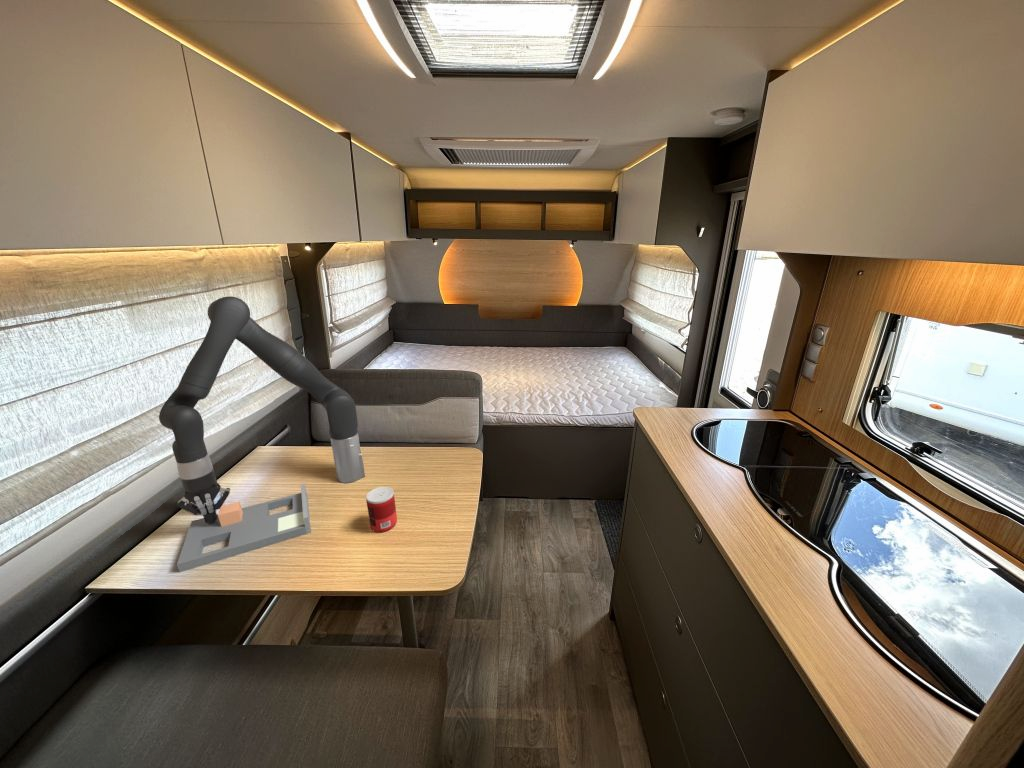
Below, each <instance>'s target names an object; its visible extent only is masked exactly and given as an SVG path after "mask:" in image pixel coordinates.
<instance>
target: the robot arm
mask: <svg viewBox="0 0 1024 768" xmlns="http://www.w3.org/2000/svg"><path fill="white" fill-rule="evenodd" d="M207 317H208V319H209V321H210V322H209V326H208V330H207V331H206V334H205V336H204V339H202V342H201V344H200V346H199V347H198V349H197V350H196V352H195V354H193V356H192V358H191V359H190V361H189V363H188V364H187V366H186V369H185V370H184V373H183V375H182V376H181V378H180V380H179V383H178V385H177V387H176V388H175V390H174V391H173V392H172V393H171V395H169V396H168V398H167V399H166V400H165V402H164V404H163V405H162V407H161V409H160V411H159V414H158V420H159V423H160V424H161V425H162V426H163V427H164V428H166V429H169V430H171V431H172V432H173V436H174V441H173V443H172V445H171V449H172V452H173V456H174V458H175V461H176V467H177V474H178V476H179V478H180V481H181V485H182V488H183V491H184V494H183V496H182V498H179V500H178V501H177V504H176V507H177V508H179V509H182V510H185V511H186V512H188V513H190V514H192V515H194V516H198V515H202V518H204V520H205V522H206V523H208V524H213V523H215V521H216V520H217V514H218V513H217V510H219V509H220V508H221V506H223V505H224V503H225V502H226V500H227V499H228V497H229V495H230V493H231V488H230V487H226V488H224V487H221V485H220V484H219V482H218V480H217V478H216V473H215V470H214V466H213V464H212V459H211V457H210V456H209V453H208V450H207V446H206V444H205V440H204V438H205V434H204V433H205V430H204V429H205V428H204V420H203V417H202V415H201V413H200V412H199V410H198V409H195V407H196V405H197V404H198V403H199V401H201V400H205V399H206V398H207V397H208V396H209V394H210V392H211V389H212V388H213V386H214V384H215V381H216V379H217V377H218V375H219V373H220V370H221V368H222V366H223V364H224V361H225V358H226V356H227V355H228V353H229V350H230V349H231V347H232V345H233V343H234V342H235V340H237V341H238V342H240V343H241V344H242V345H244V346H245V347H246V348H247V349H249V350H250V351H251V352H252V353H253V354H254V355H255V356H257V358H259V359H260V360H261V361H262V362H263V363H264V364H265V365H266V366H268V367H269V368H270V369H271V370H272V371H274V373H276V374H278V375H279V376H280V377H282V379H284V380H285V381H287V382H289V383H291V384H292V385H294V386H296V387H298V388H300V389H302V390H304V391H306V392H307V393H309V394H310V395H311V396H312V397H313V398H315V399H316V400H317V402H319V403H320V404H321V406H322V407H323V408H324V409H325V411H326V415H327V421H328V426H329V430H328V432H329V433H328V434H329V438H330V444H331V450H332V456H333V462H334V467H335V474H336V478H337V481H338V482H339V483H342V484H349V483H350V484H351V483H353V482H357V481H358V480H361V479H362V478H365V477H366V473H365V468H364V467H365V466H364V459H363V453H362V450H361V446H360V444H361V443H360V439H359V437H360V436H359V431H358V427H359V426H358V425H359V424H358V415H357V409H356V403H355V401H354V398H352V397H351V395H350V394H349V393H348V392H347V391H346V390H344V389H343V388H341V387H339V386H338V385H337V384H336V383H333V382H332V381H331V380H329V379H328V378H327V377H326V376H324V375H323V374H322V372H321V371H319V370H318V368H317V367H316V366H315V365H314V364H313V363H312V362H311V361H310V360H309V359H308V358H307V357H305V356H304V355H303V354H302V353H300V351H299V350H298V349H296V348H295V347H294V346H292V345H291V344H290V343H288V342H286V341H284V340H283V339H281V338H280V337H278V336H276V335H275V334H272V333H271V332H269V331H268V330H266V329H265V328H263V327H262V326H260V325H259V324H258V322H256V321H255V320H254V319H253V318H252V316H251V310H250V307H249V305H248V304H247V303H246V302H245V301H244V300H243V299H242V298H240V297H236V296H222V297H220V298H218V299H215V300H214V301H212V302H211V303H210V304H209V305H208V308H207ZM219 492H220V496H221V497H220V499H219V500H218V502H217V503H216V504H214V499H215V498H216V496H217V494H218V493H219ZM206 503H207V504H206ZM194 504H197V506H196V505H194Z"/></svg>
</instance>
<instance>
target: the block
mask: <svg viewBox="0 0 1024 768" xmlns="http://www.w3.org/2000/svg"><path fill="white" fill-rule="evenodd" d="M242 508H243V507H242V504H241V501H236V502H232V503H228V504H223V505H222V506H221V508H220V509H218V512H217V514H218V517H219V520H220V524H221V527H222V526H226V525H230V524H233V523H237V522H241V521H242V515H243V511H242Z"/></svg>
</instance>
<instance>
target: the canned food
mask: <svg viewBox="0 0 1024 768" xmlns="http://www.w3.org/2000/svg"><path fill="white" fill-rule="evenodd" d="M394 492H395V491H394V489H393V488H391V487H389V486H380V487H379V486H378V487H376V488H374V489H373V488H372V490H370V491H369V492H368V493H366V496H365V500H366V506H367V507H366V508H367V513H368V519H369V526H370V529H371V530H372V531H373V532H375V533H379V534H380V533H386V532H388V531H390V530H392V529H394V527H396V525H397V523H398V516H397V510H396V509H397V508H396V499H395V493H394Z"/></svg>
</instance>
